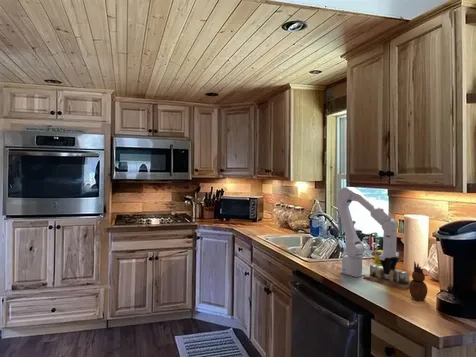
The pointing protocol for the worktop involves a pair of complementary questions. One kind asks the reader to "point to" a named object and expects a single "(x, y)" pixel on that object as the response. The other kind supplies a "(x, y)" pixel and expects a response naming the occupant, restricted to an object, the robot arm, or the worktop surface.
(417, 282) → the wooden figurine
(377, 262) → the supplement box
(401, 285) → the rack
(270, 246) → the worktop surface
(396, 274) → the grey long bar
